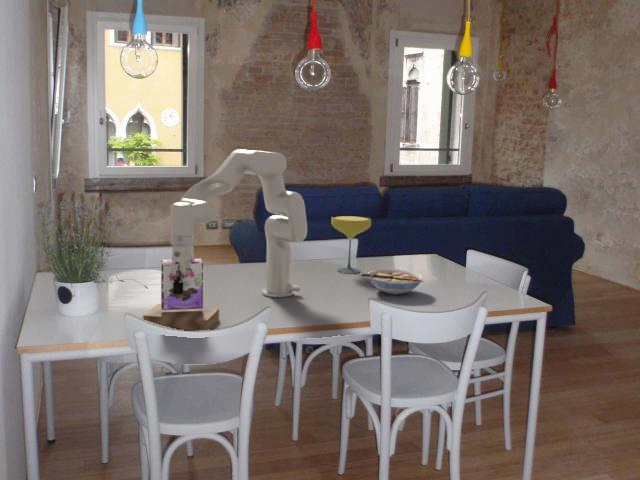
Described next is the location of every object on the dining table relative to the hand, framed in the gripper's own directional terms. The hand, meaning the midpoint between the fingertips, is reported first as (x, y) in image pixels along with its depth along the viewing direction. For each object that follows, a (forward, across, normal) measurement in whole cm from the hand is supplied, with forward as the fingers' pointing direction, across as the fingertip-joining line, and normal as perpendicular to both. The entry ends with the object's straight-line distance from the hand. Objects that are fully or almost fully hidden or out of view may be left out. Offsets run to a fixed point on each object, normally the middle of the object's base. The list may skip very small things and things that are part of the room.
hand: (182, 290), depth 240 cm
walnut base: (+12, 0, 0) cm, 12 cm away
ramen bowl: (+12, +61, -70) cm, 93 cm away
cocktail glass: (+12, +93, -48) cm, 105 cm away
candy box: (+6, 0, 0) cm, 6 cm away
